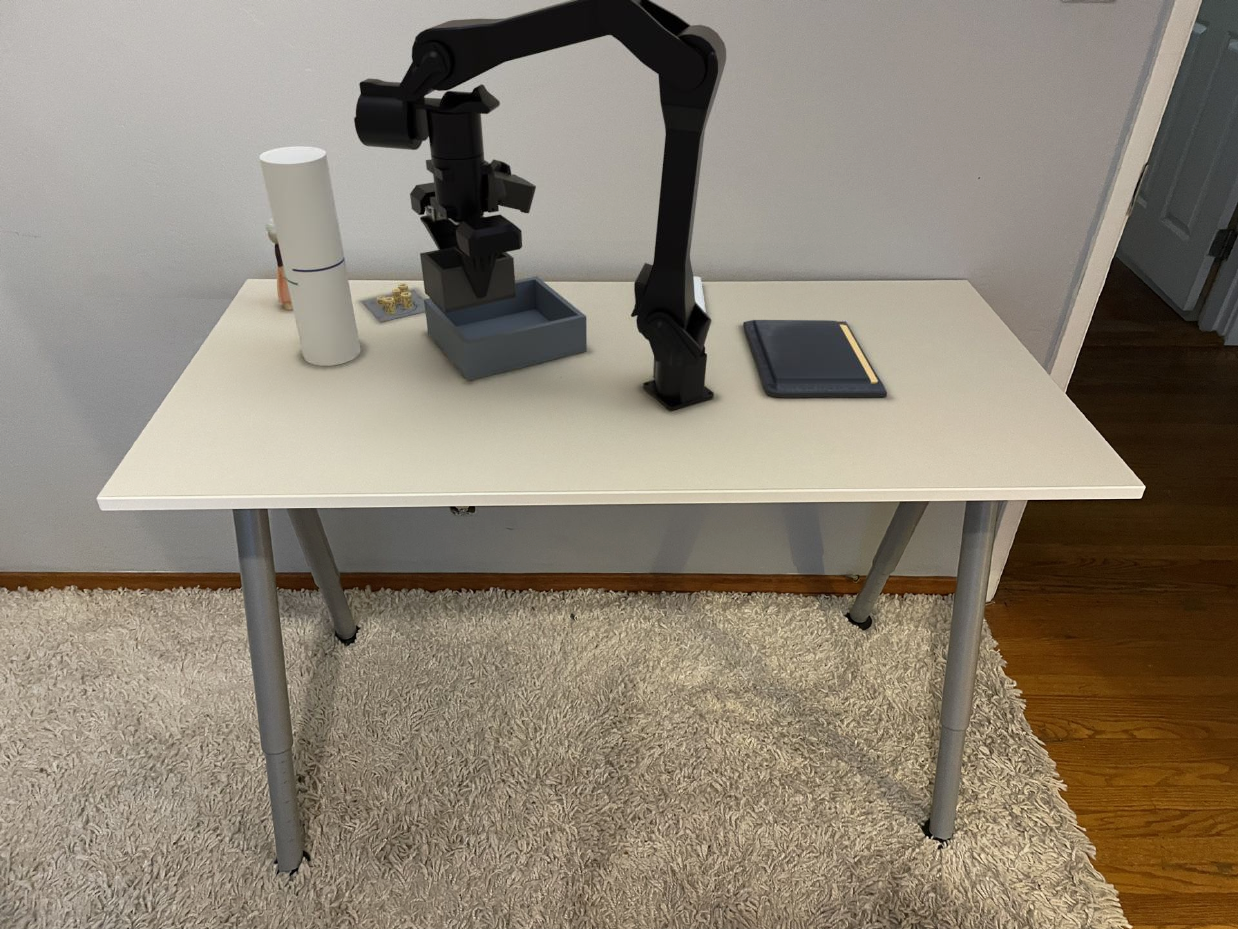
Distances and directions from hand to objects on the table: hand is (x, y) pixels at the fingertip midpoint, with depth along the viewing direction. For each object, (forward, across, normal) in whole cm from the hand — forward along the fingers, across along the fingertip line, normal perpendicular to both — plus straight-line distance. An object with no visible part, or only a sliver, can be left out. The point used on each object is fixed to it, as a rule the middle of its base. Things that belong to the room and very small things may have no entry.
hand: (470, 287), depth 100 cm
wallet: (+11, -19, -39) cm, 45 cm away
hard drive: (+11, +4, -33) cm, 35 cm away
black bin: (+1, 0, 0) cm, 1 cm away
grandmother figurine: (+11, +30, +16) cm, 35 cm away
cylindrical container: (+11, +13, +15) cm, 22 cm away
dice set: (+11, +23, +3) cm, 25 cm away
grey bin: (+11, +4, -6) cm, 13 cm away
